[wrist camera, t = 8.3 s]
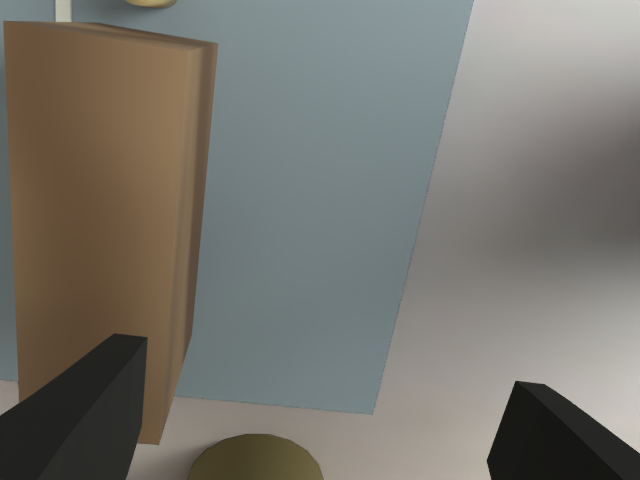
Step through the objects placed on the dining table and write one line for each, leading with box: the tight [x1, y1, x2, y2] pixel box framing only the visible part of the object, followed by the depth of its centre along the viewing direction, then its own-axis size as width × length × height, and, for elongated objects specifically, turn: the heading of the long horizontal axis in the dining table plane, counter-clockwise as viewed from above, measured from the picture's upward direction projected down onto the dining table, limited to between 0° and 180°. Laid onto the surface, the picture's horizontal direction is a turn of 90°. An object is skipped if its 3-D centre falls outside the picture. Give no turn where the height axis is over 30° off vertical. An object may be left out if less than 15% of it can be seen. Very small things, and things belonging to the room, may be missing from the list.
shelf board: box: [0, 0, 474, 415], centre depth 16 cm, size 14×23×4 cm, turn 171°
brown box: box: [3, 21, 218, 445], centre depth 15 cm, size 4×10×6 cm, turn 171°
